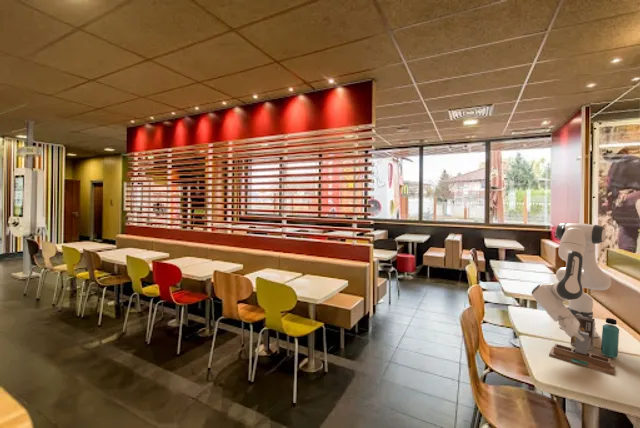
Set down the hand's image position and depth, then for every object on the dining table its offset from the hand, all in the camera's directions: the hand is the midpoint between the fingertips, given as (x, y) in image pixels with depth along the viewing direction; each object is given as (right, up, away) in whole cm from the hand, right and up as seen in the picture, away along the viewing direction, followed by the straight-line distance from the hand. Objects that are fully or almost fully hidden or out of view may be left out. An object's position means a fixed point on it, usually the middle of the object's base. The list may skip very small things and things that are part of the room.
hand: (583, 339), depth 153 cm
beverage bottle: (+17, -12, +6) cm, 22 cm away
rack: (-1, -11, +1) cm, 11 cm away
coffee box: (+14, -11, +18) cm, 25 cm away
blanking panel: (-1, -7, +1) cm, 7 cm away
